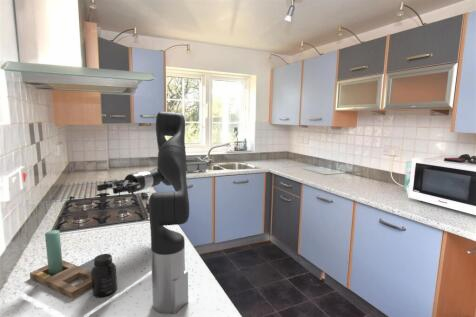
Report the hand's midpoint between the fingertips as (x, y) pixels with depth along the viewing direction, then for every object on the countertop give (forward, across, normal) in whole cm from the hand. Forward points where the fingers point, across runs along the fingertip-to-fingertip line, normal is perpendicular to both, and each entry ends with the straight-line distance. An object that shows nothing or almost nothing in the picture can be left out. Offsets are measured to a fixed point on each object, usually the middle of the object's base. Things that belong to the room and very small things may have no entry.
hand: (105, 189), depth 103 cm
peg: (+16, -5, +27) cm, 32 cm away
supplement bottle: (+15, +16, +28) cm, 35 cm away
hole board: (+17, 0, +27) cm, 32 cm away
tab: (+7, 0, +27) cm, 28 cm away
